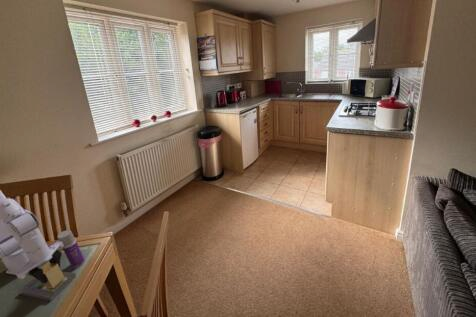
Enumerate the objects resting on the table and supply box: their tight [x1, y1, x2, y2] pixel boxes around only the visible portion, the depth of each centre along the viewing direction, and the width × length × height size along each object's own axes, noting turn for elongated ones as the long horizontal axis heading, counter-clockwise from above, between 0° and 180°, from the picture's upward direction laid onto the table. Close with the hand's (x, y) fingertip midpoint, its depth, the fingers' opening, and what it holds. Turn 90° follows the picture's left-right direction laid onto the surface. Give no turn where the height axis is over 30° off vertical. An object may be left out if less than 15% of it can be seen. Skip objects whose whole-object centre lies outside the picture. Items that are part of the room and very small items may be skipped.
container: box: [56, 229, 86, 269], centre depth 92 cm, size 5×5×15 cm
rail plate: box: [18, 270, 77, 302], centre depth 86 cm, size 14×10×2 cm
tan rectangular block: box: [40, 261, 65, 289], centre depth 83 cm, size 4×4×7 cm
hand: (51, 276), depth 84 cm, fingers closed on tan rectangular block, 4 cm apart
